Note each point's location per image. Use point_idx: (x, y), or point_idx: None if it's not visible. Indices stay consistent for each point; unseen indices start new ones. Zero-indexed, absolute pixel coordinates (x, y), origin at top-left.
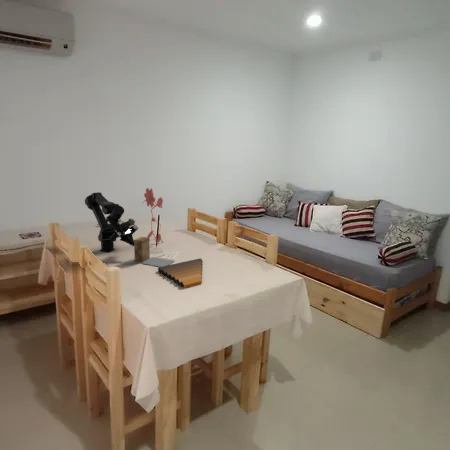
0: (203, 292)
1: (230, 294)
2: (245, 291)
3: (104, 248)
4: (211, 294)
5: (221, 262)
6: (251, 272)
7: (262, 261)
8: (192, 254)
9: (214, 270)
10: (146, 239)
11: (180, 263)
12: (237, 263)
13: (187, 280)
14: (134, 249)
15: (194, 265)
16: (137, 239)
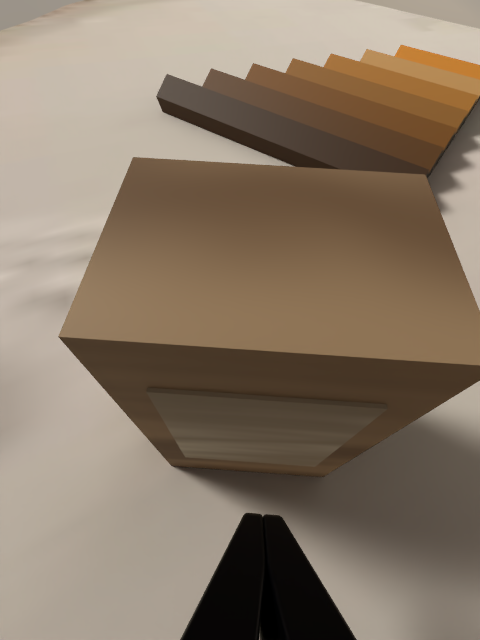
0: (458, 58)
1: (413, 24)
2: (368, 10)
3: None
4: (452, 46)
5: (135, 63)
6: (213, 11)
7: (89, 3)
8: (19, 159)
9: (244, 65)
10: (251, 171)
11: (288, 119)
12: (132, 35)
13: (467, 63)
14: (376, 442)
15: (287, 74)
16: (394, 303)
